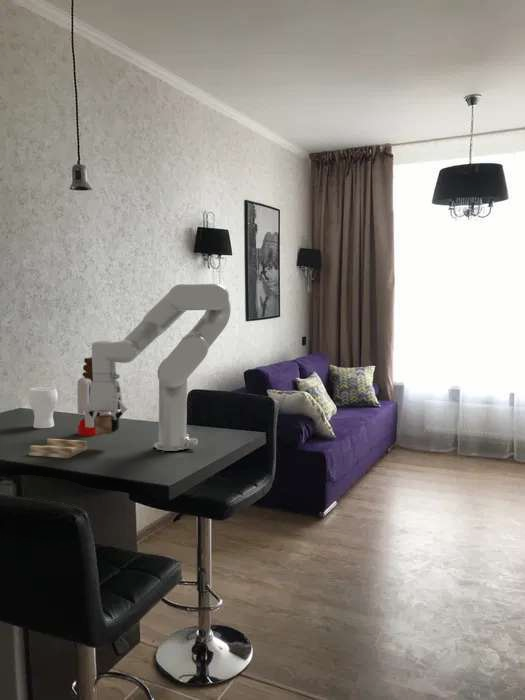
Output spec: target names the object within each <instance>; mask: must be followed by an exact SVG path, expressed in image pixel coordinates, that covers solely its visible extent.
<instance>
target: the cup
mask: <svg viewBox="0 0 525 700" xmlns="http://www.w3.org/2000/svg"><path fill="white" fill-rule="evenodd" d="M58 399H59V395H58V390H57V388H56V387H52V386H45V387H44V386H42V387H33V388H30V390H29V395H28V402H29V405H30V407H31V409H32V412H33V416H34V420H33V424H32V425H33V428H35V429H48V428H49V429H50V428H53V427H54V426H55V420H54V410H55V409H56V406H57V404H58Z"/></svg>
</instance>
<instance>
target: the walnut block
mask: <svg viewBox="0 0 525 700" xmlns="http://www.w3.org/2000/svg"><path fill="white" fill-rule="evenodd" d="M112 420H113V417H112V414H111V413H109V414H101V415H99V416H97V417H95V433H96V434H98V435H99V434H104V435H111V434H114V432H113V431H112Z"/></svg>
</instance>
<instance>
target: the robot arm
mask: <svg viewBox="0 0 525 700" xmlns="http://www.w3.org/2000/svg"><path fill="white" fill-rule="evenodd" d="M229 299H230V295H229V291H228V290H227V288H226V287H225V286H224V285H222V284H219V283H205V284H204V283H203V284H202V283H199V284H197V283H196V284H195V283H194V284H188V283H187V284H185V283H183V284H182V283H181V284H175V285H174V286H173V287H171V288H170V290H169V291H168V292H167V293H166V294H165V295H164V297H162V298H161V299H160V300H159V302H157V303H156V304H155V305H154V306H153V307H152V308H151V309H150V310H149V311H148V312H147V313H146V314H145V315H144V317H143V318H142V320H141V321H140V323H139V324H138V325H137V326H136V327H135V328H134V329H133V330H132V331H131V332H130V333H129V334H127V336H126V337H125V338H123V340H121V341H111V340H99V341H98V340H97V341H94V342H92V344H91V356H92V368H93V382H91V388H90V402H89V403H88V404H87V406H86V407H85V410H86V411H87V412H88V413H89V414H90V415H91V417H92V419H94V428H95V417H97V416H99V415H100V412H101V411H106V412H109V413H110V414H112V417H113V420H112V431H113V433H115V432H117V431H119V428H120V424H119V423H120V421H119V419H120V418H121V416H123V414H124V413H126V412H127V410H128V408H127V406H126V405H125V404H124V402H123V397H122V389H121V386H120V381H118V380H117V379H120V374H119V373H118V374H117V370H116V368H117V367H116V363H120V364H129V363H131V362H133V361H134V360H135V359H137V357H138V356H139V355H141V353H142V352H143V351H145V350H146V348H148V347H149V346H150V345H151V344H152V342H154V341H155V340H156V339H157V338H158V337H159V336H161V335H162V334H164V333H165V332H166V331H167V330H168V329H169V328H170V327H171V326H172V325H173V324H175V322H176V321H177V320H178V319H179V318H180V317H181V316H182V315H183V314H185V312H186V311H205V312H204V314H203V315H202V316H201V318H199V320H198V321H197V323H196V324H195V325H194V326H193V327H192V329H191V330H190V331H189V332H188V333H187V334H185V335H184V336H183V337H182V338H181V340H180V342H179V343H178V344H177V345H176V346H175V348H173V350H172V351H171V352H170V353H169V354H168V355H167V357H166V358H164V359H162V361H161V362H160V363H159V366H158V369H157V379H158V441H157V442H155V443H154V444H153V448H154V447H155V448H157V449H162V450H175V449H182V448H185V447H188V446H186V445H189V444H191V446H198V442H199V440H198V438H195V437H190V434H189V433H187V414H188V412H187V411H188V410H187V409H188V408H187V407H188V406H187V403H188V402H187V401H188V378H190V377H191V375H192V374H193V373H194V372H195V370H196V369H197V368H198V367H199V366H200V364H201V363H202V362H203V361H204V360H205V358H206V356H207V355H208V352H209V349H210V347H211V346H212V345H213V344H214V343H215V341H216V340H217V339H218V338H219V336H220V335H221V333H222V332H224V330H225V328H226V327H227V325H228V323H229V320H230V316H231V303H230V302H231V301H230V300H229Z"/></svg>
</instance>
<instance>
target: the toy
mask: <svg viewBox="0 0 525 700" xmlns="http://www.w3.org/2000/svg"><path fill="white" fill-rule="evenodd" d="M83 362H84V365H83V367H82V370H83V371H84V372H83V373H82V377H81V378H79V379H78V380H77V388H76V389H77V390H76V391H77V395H76V396H77V414H79V415H84V418H82V419H81V420H80V421H79V424H78V425H77V434H78V436H83V437H93V436H94V437H95V436H98V435H99V434H96V433H95V428H94V419H92V417H91V415H90V414H89V413H88V412H87V411H86V410H85V407H86V406H87V404H88V403H89V402H90V388H91V382H93V368H92V355H91V356H90V357H85V358H84V360H83ZM101 414H110V412H106V411H101V412H100V415H101Z"/></svg>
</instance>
